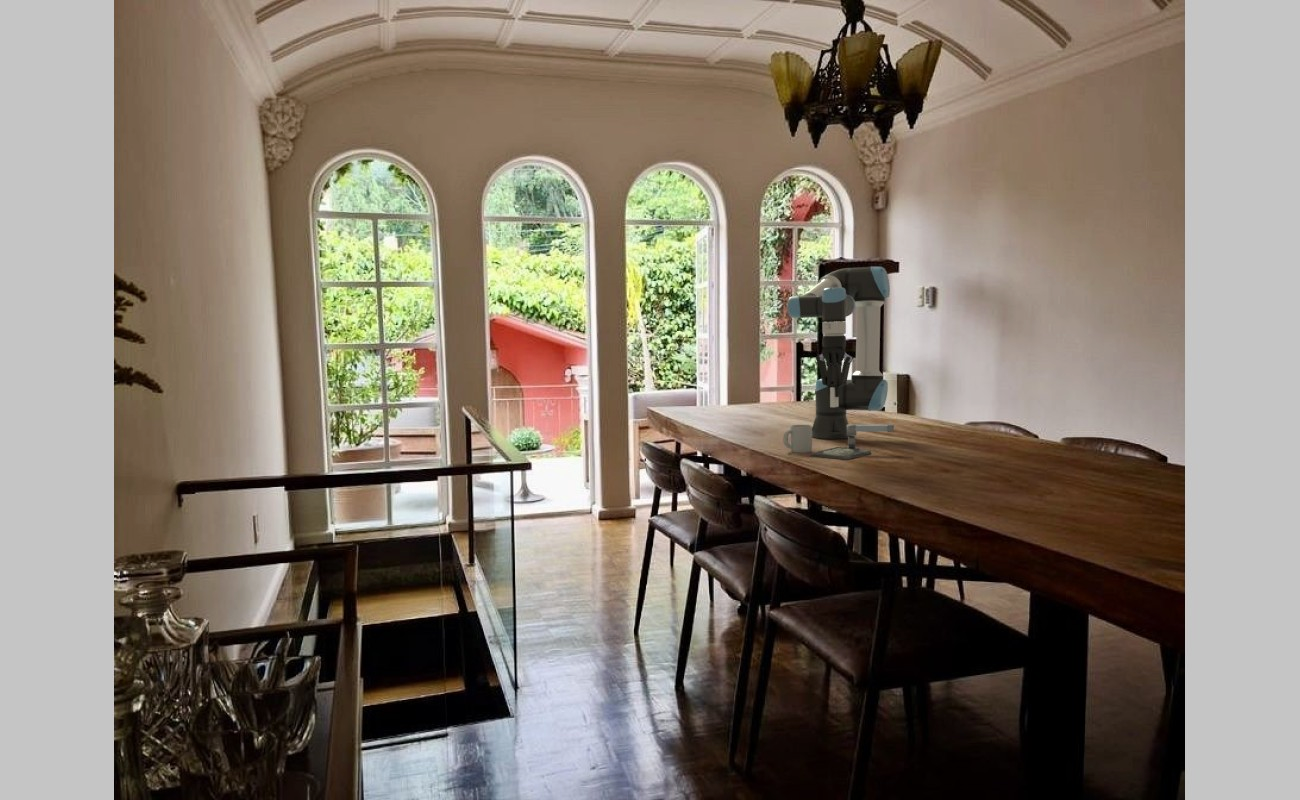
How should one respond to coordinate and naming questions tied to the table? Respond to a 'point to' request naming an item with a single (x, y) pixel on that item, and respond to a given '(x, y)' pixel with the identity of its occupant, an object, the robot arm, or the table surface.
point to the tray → (843, 451)
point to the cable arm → (868, 428)
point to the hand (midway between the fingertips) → (834, 406)
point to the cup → (799, 438)
